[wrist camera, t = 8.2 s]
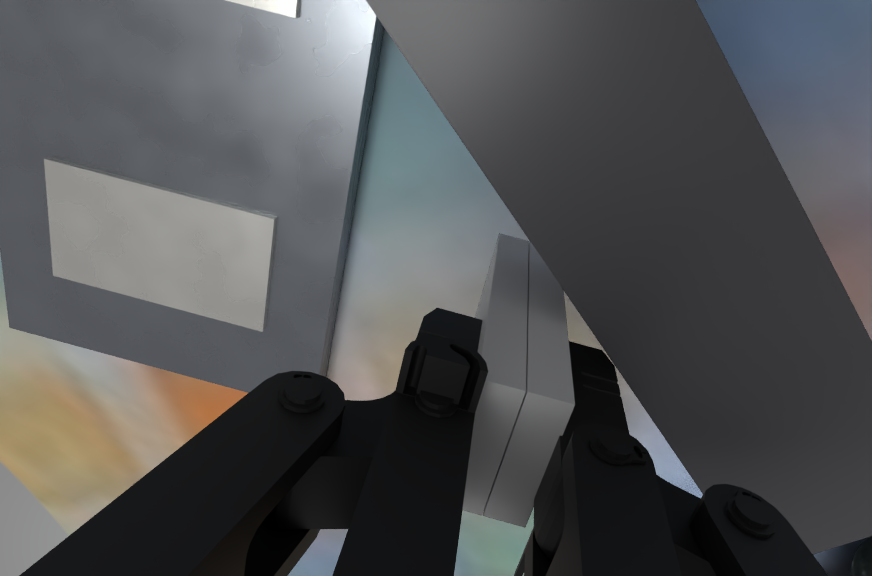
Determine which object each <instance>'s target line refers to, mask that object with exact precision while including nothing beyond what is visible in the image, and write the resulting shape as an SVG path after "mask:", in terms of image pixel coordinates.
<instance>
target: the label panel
mask: <svg viewBox="0 0 872 576" xmlns="http://www.w3.org/2000/svg"><path fill="white" fill-rule="evenodd" d="M383 32H384V26H383V25H382V23H381V22H380V20H379V19H378V18H377V16H376V15H375V13H374V12H373V10H372V9H371V7H370V6H369V4H368V3H367V1H366V0H0V252H1V260H2V268H3V277H4V285H5V293H6V302H7V310H8V319H9V327H10V328H13V329H17V330H20V331H24V332H28V333H31V334H35V335H39V336H42V337H46V338H50V339H53V340H57V341H61V342H64V343H68V344H72V345H75V346H79V347H83V348H86V349H90V350H94V351H97V352H101V353H105V354H108V355H112V356H116V357H120V358H123V359H127V360H131V361H134V362H138V363H142V364H145V365H149V366H153V367H156V368H160V369H164V370H167V371H171V372H175V373H178V374H182V375H186V376H189V377H193V378H197V379H200V380H204V381H208V382H211V383H215V384H219V385H222V386H226V387H230V388H233V389H237V390H241V391H244V392H248V393H249V392H251V391H252V390H253V389H254V388H256V387H257V386H258V385H259V384H261V383H262V382H263V381H264V380H266V379H268V378H270V377H272V376H274V375H276V374H278V373H283V372H289V371H307V372H312V373H315V374H319V375H322V376H325V377H326V374H327V368H328V362H329V356H330V350H331V344H332V338H333V332H334V326H335V320H336V314H337V308H338V302H339V296H340V290H341V284H342V278H343V272H344V266H345V260H346V254H347V248H348V242H349V236H350V230H351V224H352V218H353V212H354V206H355V200H356V194H357V188H358V182H359V176H360V170H361V164H362V158H363V152H364V146H365V140H366V134H367V128H368V122H369V116H370V110H371V104H372V98H373V92H374V86H375V80H376V74H377V68H378V62H379V56H380V50H381V44H382V38H383Z"/></svg>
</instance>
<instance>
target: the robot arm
mask: <svg viewBox="0 0 872 576" xmlns="http://www.w3.org/2000/svg"><path fill="white" fill-rule="evenodd" d="M617 382H618V380H617V376H616V371H615V367H614V365H613V364H612V362H611V361H610V360H609V359H608V357H607V356H606V355H605V354H604V352H603V351H602V350H599V349H596V348H592V347H588V346H584V345H581V344H577V343H573V342H570V341H569V340H568V331H567V321H566V311H565V301H564V292H563V288H562V287H561V285H560V284H559V283H558V281H557V280H556V278H555V277H554V275H553V274H552V272H551V271H550V269H549V268H548V266H547V265H546V263H545V262H544V261H543V259H542V258H541V256H540V255H539V253H538V252H537V250H536V249H535V247H534V246H533V244H532V243H531V242H529V241H526V240H522V239H519V238H515V237H511V236H507V235H503V234H500V233H499V236H498V240H497V243H496V247H495V250H494V254H493V257H492V261H491V264H490V267H489V271H488V274H487V278H486V281H485V285H484V288H483V292H482V295H481V298H480V302H479V305H478V309H477V312H476V316H475V318H473V317H470V316H466V315H462V314H458V313H455V312H451V311H447V310H443V309H440V308H436V309H435V310H433V311H432V312H430V313H429V314H427V315H426V316H424V318H423V321H422V324H421V327H420V330H419V332H418V335H417V338H416V340H415V341H412V342H411V343H410V344H409V345H408V347H407V348H406V349H405V353H404V357H403V361H402V366H401V370H400V374H399V378H398V382H397V387H396V391H394V392H393V393H392V394H390V395H388V396H386V397H384V398H380V399H376V400H370V401H351V400H345V398H344V393H343V392H342V390H341V389H340V388H339V386H338V385H337V384H336V383H335V382H333V381H331V380H330V379H328V378H327V377H325V376H322V375H319V374H315V373H312V372H307V371H289V372H283V373H278V374H276V375H274V376H272V377H270V378H268V379H266V380H264V381H263V382H262V383H261V384H259V385H258V386H257V387H256V388H254V389H253V390H252V391H251V392H249V393H248V394H247V395H246V396H244V397H243V398H242V399H241V400H239V401H238V402H237V403H236V404H234V405H233V406H232V407H231V408H229V409H228V410H227V411H225V412H224V413H223V414H222V415H220V416H219V417H218V418H217V419H215V420H214V421H213V422H212V423H210V424H209V425H208V426H207V427H205V428H204V429H203V430H202V431H200V432H199V433H198V434H197V435H195V436H194V437H193V438H192V439H190V440H189V441H188V442H187V443H185V444H184V445H183V446H182V447H180V448H179V449H178V450H177V451H175V452H174V453H173V454H171V455H170V456H169V457H168V458H166V459H165V460H164V461H163V462H161V463H160V464H159V465H158V466H156V467H155V468H154V469H153V470H151V471H150V472H149V473H148V474H146V475H145V476H144V477H143V478H141V479H140V480H139V481H138V482H136V483H135V484H134V485H133V486H131V487H130V488H129V489H128V490H126V491H125V492H124V493H123V494H121V495H120V496H119V497H117V498H116V499H115V500H114V501H112V502H111V503H110V504H109V505H107V506H106V507H105V508H104V509H102V510H101V511H100V512H99V513H97V514H96V515H95V516H94V517H92V518H91V519H90V520H89V521H87V522H86V523H85V524H84V525H82V526H81V527H80V528H79V529H77V530H76V531H75V532H74V533H72V534H71V535H70V536H69V537H67V538H66V539H65V540H64V541H62V542H61V543H60V544H59V545H57V546H56V547H55V548H54V549H52V550H51V551H50V552H48V553H47V554H46V555H45V556H43V557H42V558H41V559H40V560H38V561H37V562H36V563H35V564H33V565H32V566H31V567H30V568H29V569H27V570H26V571H25V572H23V573H22V574H21V575H20V576H288V574H289V573H290V572H291V570H292V569H293V568H294V566H295V565H296V564H297V562H298V561H299V560H300V558H301V557H302V556H303V554H304V553H305V552H306V550H307V549H308V548H309V546H310V545H311V544H312V543H313V541H314V540H315V539H316V537H317V535H318V533H319V531H320V529H348V532H347V535H346V538H345V541H344V544H343V547H342V550H341V552H340V555H339V558H338V561H337V564H336V567H335V570H334V573H333V576H454V570H455V562H456V554H457V547H458V539H459V532H460V524H461V516H462V510H464V511H468V512H471V513H475V514H478V515H482V513H483V516H486V517H489V518H493V519H496V520H500V521H504V522H507V523H511V524H514V525H518V526H522V527H526V524H527V522H528V520H529V517H530V515H531V512H532V510H533V507H534V528H533V530H532V533H531V535H530V537H529V540H528V542H527V545H526V547H525V550H524V552H523V554H522V557H521V559H520V562H519V564H518V566H517V569H516V571H515V574H514V576H522V575H523V573H524V576H828V575H827V573H826V572H825V571H824V569H823V568H822V567H821V565H820V564H819V562H818V561H817V560H816V558H815V557H814V556H813V554H812V553H811V552H810V550H809V549H808V547H807V546H806V545H805V543H804V542H803V541H802V539H801V538H800V537H799V535H798V534H797V532H796V531H795V530H794V528H793V527H792V526H791V524H790V523H789V522H788V520H787V519H786V518H785V517H784V516H783V515H782V514H781V513H780V512H779V511H778V510H777V509H776V508H775V507H774V506H773V505H771V504H770V503H769V502H767V501H766V500H764V499H763V498H762V497H761V496H759V495H757V494H755V493H752V492H751V491H749V490H746V489H744V488H742V487H738V486H734V485H730V484H715V485H712V486H711V487H710V488H708V489H707V490H706V491H705V492H704V494H703V496H702V498H701V499H700V498H698V497H696V496H694V495H692V494H690V493H688V492H686V491H684V490H682V489H680V488H678V487H676V486H674V485H672V484H671V483H669V482H667V481H665V480H664V479H662V478H660V477H659V476H658V475H656V471H655V467H654V463H653V461H652V459H651V457H650V455H649V453H648V451H647V449H646V448H645V447H644V446H643V445H642V444H641V443H640V442H639V441H638V440H637V439H635V438H634V437H632V436H631V435H629V430H628V426H627V421H626V417H625V412H624V408H623V403H622V399H621V397H620V389H619V385H618V384H617ZM483 510H484V512H483Z"/></svg>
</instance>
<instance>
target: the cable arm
mask: <svg viewBox="0 0 872 576" xmlns="http://www.w3.org/2000/svg"><path fill="white" fill-rule="evenodd" d="M366 1H367V3H368V4H369V6H370V7H371V9H372V10H373V12H374V13H375V15H376V16H377V18H378V19H379V20H380V22H381V23H382V25H383V26H384V28H385V29H386V31H387V32H388V34H389V35H390V37H391V38H392V39H393V41H394V42H395V44H396V45H397V47H398V48H399V50H400V51H401V53H402V54H403V56H404V57H405V58H406V60H407V61H408V63H409V64H410V66H411V67H412V69H413V70H414V72H415V73H416V75H417V76H418V78H419V79H420V80H421V82H422V83H423V85H424V86H425V88H426V89H427V91H428V92H429V94H430V95H431V97H432V98H433V99H434V101H435V102H436V104H437V105H438V107H439V108H440V110H441V111H442V113H443V114H444V116H445V117H446V119H447V120H448V121H449V123H450V124H451V126H452V127H453V129H454V130H455V132H456V133H457V135H458V136H459V138H460V139H461V140H462V142H463V143H464V145H465V146H466V148H467V149H468V151H469V152H470V154H471V155H472V157H473V158H474V160H475V161H476V162H477V164H478V165H479V167H480V168H481V170H482V171H483V173H484V174H485V176H486V177H487V179H488V180H489V181H490V183H491V184H492V186H493V187H494V189H495V190H496V192H497V193H498V195H499V196H500V198H501V199H502V201H503V202H504V203H505V205H506V206H507V208H508V209H509V211H510V212H511V214H512V215H513V217H514V218H515V220H516V221H517V222H518V224H519V225H520V227H521V228H522V230H523V231H524V233H525V234H526V236H527V237H528V239H529V240H530V242H531V243H532V244H533V246H534V247H535V249H536V250H537V252H538V253H539V255H540V256H541V258H542V259H543V261H544V262H545V263H546V265H547V266H548V268H549V269H550V271H551V272H552V274H553V275H554V277H555V278H556V280H557V281H558V283H559V284H560V285H561V287H562V288H563V290H564V291H565V293H566V294H567V296H568V297H569V299H570V300H571V302H572V303H573V304H574V306H575V307H576V309H577V310H578V312H579V313H580V315H581V316H582V318H583V319H584V321H585V322H586V324H587V325H588V326H589V328H590V329H591V331H592V332H593V334H594V335H595V337H596V338H597V340H598V341H599V343H600V344H601V345H602V347H603V348H604V350H605V351H606V353H607V354H608V356H609V357H610V359H611V360H612V362H613V363H614V365H615V366H616V367H617V369H618V370H619V372H620V373H621V375H622V376H623V378H624V379H625V381H626V382H627V384H628V385H629V386H630V388H631V389H632V391H633V392H634V394H635V395H636V397H637V398H638V400H639V401H640V403H641V404H642V406H643V407H644V408H645V410H646V411H647V413H648V414H649V416H650V417H651V419H652V420H653V422H654V423H655V425H656V426H657V427H658V429H659V430H660V432H661V433H662V435H663V436H664V438H665V439H666V441H667V442H668V444H669V445H670V447H671V448H672V449H673V451H674V452H675V454H676V455H677V457H678V458H679V460H680V461H681V463H682V464H683V466H684V467H685V468H686V470H687V471H688V473H689V474H690V476H691V477H692V479H693V480H694V482H695V483H696V485H697V486H698V488H699V489H700V490H701V492H702V493H703V494H704V492H705V491H706V490H707V489H708V488H710V487H711V486H712V485H715V484H730V485H734V486H738V487H742V488H744V489H746V490H749V491H751V492H752V493H755V494H757V495H759V496H761V497H762V498H763V499H764V500H766V501H767V502H769V503H770V504H771V505H773V506H774V507H775V508H776V509H777V510H778V511H779V512H780V513H781V514H782V515H783V516H784V517H785V518H786V519H787V520H788V522H789V523H790V524H791V526H792V527H793V528H794V530H795V531H796V532H797V534H798V535H799V537H800V538H801V539H802V541H803V542H804V543H805V545H806V546H807V547H808V549H809V550H810V552H811V553H812V554H816V553H819V552H822V551H826V550H829V549H832V548H835V547H838V546H842V545H845V544H848V543H851V542H854V541H857V540H861V539H864V538H867V537H870V536H872V341H871V339H870V337H869V335H868V333H867V331H866V329H865V327H864V325H863V323H862V321H861V319H860V317H859V316H858V314H857V312H856V310H855V308H854V306H853V304H852V302H851V300H850V298H849V296H848V294H847V292H846V290H845V288H844V286H843V285H842V283H841V281H840V279H839V277H838V275H837V273H836V271H835V269H834V267H833V265H832V263H831V261H830V259H829V257H828V256H827V254H826V252H825V250H824V248H823V246H822V244H821V242H820V240H819V238H818V236H817V234H816V232H815V230H814V228H813V226H812V225H811V223H810V221H809V219H808V217H807V215H806V213H805V211H804V209H803V207H802V205H801V203H800V201H799V199H798V197H797V196H796V194H795V192H794V190H793V188H792V186H791V184H790V182H789V180H788V178H787V176H786V174H785V172H784V170H783V168H782V167H781V165H780V163H779V161H778V159H777V157H776V155H775V153H774V151H773V149H772V147H771V145H770V143H769V141H768V139H767V137H766V136H765V134H764V132H763V130H762V128H761V126H760V124H759V122H758V120H757V118H756V116H755V114H754V112H753V110H752V108H751V107H750V105H749V103H748V101H747V99H746V97H745V95H744V93H743V91H742V89H741V87H740V85H739V83H738V81H737V79H736V78H735V76H734V74H733V72H732V70H731V68H730V66H729V64H728V62H727V60H726V58H725V56H724V54H723V52H722V50H721V48H720V47H719V45H718V43H717V41H716V39H715V37H714V35H713V33H712V31H711V29H710V27H709V25H708V23H707V21H706V19H705V18H704V16H703V14H702V12H701V10H700V8H699V6H698V4H697V2H696V0H366Z"/></svg>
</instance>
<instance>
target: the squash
mask: <svg viewBox="0 0 872 576" xmlns="http://www.w3.org/2000/svg"><path fill="white" fill-rule="evenodd" d="M851 576H872V537H870V538H868V539H867V540H866V541H864V542H863V543H862V544H861V545H860V546H859V548H858V549H857V551H856V553H855V556H854V558H853V560H852V565H851Z"/></svg>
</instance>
